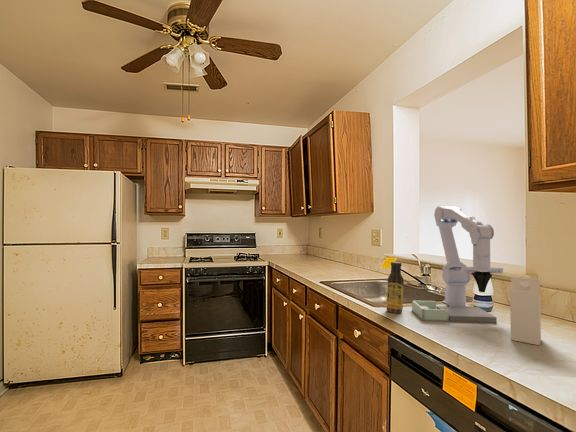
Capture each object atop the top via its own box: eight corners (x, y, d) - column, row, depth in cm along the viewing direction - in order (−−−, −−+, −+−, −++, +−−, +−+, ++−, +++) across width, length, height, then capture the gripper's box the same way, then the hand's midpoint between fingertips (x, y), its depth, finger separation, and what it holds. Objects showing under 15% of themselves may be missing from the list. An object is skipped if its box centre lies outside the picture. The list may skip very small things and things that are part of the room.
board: (436, 311, 133) (436, 306, 133) (478, 312, 131) (478, 307, 131) (449, 321, 119) (449, 315, 119) (496, 322, 117) (496, 317, 117)
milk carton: (513, 334, 106) (512, 275, 106) (540, 339, 101) (540, 277, 101) (510, 340, 100) (510, 277, 100) (540, 346, 96) (539, 280, 96)
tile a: (426, 305, 132) (426, 310, 132) (415, 305, 132) (415, 310, 132) (429, 308, 128) (429, 313, 128) (418, 308, 128) (418, 313, 128)
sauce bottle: (385, 312, 131) (385, 262, 131) (388, 308, 136) (388, 260, 137) (402, 314, 128) (402, 263, 128) (404, 310, 133) (404, 261, 133)
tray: (412, 310, 134) (412, 300, 134) (435, 311, 133) (435, 301, 133) (422, 320, 120) (422, 309, 120) (448, 321, 119) (448, 310, 119)
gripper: (466, 257, 123) (466, 293, 122) (507, 257, 121) (507, 294, 121) (458, 255, 130) (458, 289, 129) (497, 255, 128) (497, 290, 128)
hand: (481, 291), depth 126 cm, fingers closed
